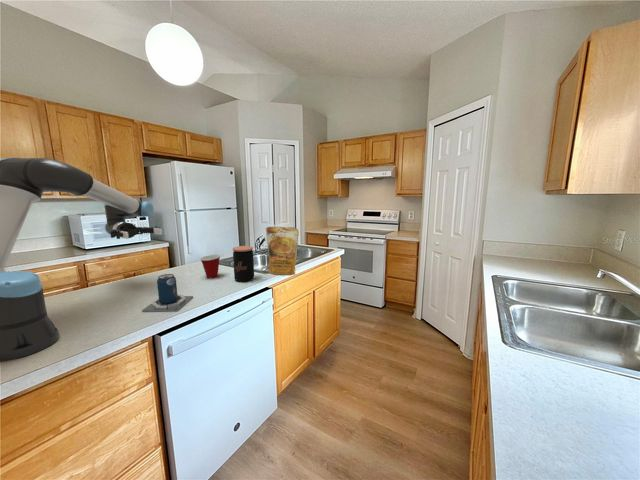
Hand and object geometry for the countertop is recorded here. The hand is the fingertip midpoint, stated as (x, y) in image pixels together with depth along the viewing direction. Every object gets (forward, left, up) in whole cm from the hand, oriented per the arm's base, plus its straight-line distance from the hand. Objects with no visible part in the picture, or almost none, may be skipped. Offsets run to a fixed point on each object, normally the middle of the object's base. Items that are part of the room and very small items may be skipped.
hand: (145, 233), depth 114 cm
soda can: (+13, -10, -29) cm, 33 cm away
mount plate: (+13, -10, -29) cm, 34 cm away
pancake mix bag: (+57, +32, -30) cm, 72 cm away
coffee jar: (+37, +22, -30) cm, 52 cm away
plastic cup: (+17, +27, -30) cm, 43 cm away
